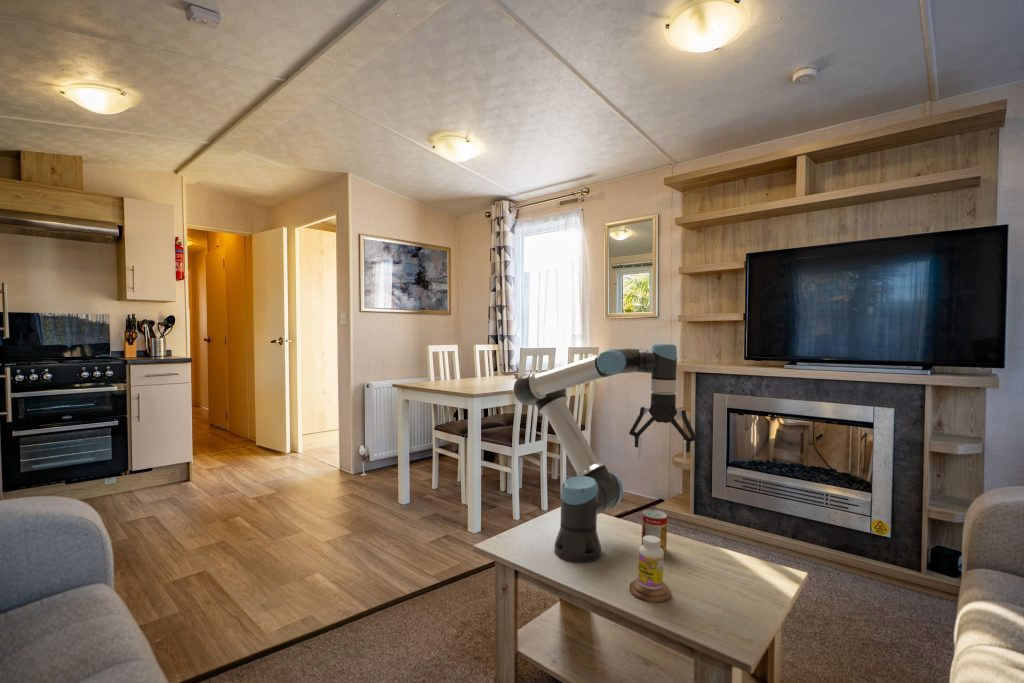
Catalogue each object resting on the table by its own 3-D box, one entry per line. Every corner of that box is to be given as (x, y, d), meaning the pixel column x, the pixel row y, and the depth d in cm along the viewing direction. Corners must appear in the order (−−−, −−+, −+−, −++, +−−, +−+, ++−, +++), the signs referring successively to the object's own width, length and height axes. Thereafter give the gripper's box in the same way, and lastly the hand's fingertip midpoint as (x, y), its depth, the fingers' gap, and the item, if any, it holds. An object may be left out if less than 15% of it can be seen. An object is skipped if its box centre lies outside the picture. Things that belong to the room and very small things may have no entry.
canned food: (665, 546, 169) (666, 511, 169) (666, 556, 161) (667, 519, 161) (641, 543, 171) (642, 508, 170) (641, 553, 163) (642, 516, 163)
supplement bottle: (632, 583, 139) (634, 537, 139) (647, 576, 143) (648, 531, 143) (653, 593, 134) (654, 545, 133) (667, 586, 138) (669, 539, 138)
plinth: (627, 597, 135) (627, 590, 135) (631, 579, 145) (632, 572, 145) (670, 606, 131) (670, 598, 131) (671, 586, 142) (671, 579, 142)
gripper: (705, 394, 157) (703, 461, 157) (624, 389, 165) (623, 453, 166) (706, 396, 150) (704, 467, 150) (621, 391, 158) (619, 458, 159)
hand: (661, 460), depth 158 cm, fingers open, 13 cm apart
